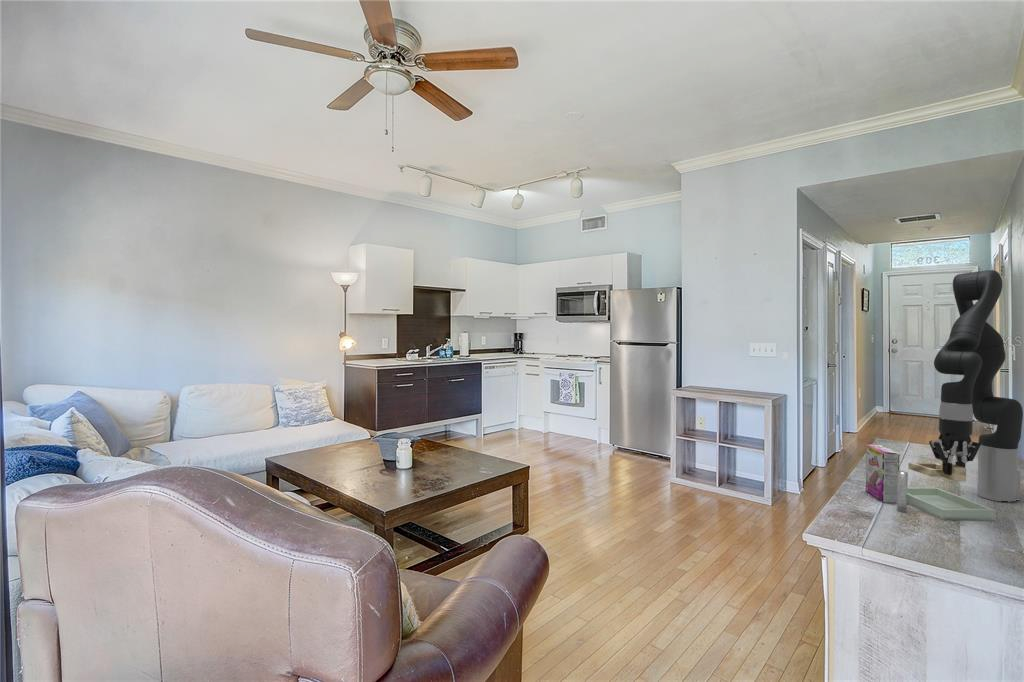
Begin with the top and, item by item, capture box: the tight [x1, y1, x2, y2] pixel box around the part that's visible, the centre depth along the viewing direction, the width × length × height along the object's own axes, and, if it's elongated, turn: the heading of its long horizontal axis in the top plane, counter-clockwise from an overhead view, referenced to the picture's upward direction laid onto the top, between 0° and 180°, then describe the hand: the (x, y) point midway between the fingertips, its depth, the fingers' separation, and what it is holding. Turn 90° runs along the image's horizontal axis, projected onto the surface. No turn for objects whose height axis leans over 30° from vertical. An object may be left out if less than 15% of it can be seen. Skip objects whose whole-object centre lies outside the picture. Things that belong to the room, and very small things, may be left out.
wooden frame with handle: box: [908, 462, 967, 483], centre depth 153 cm, size 14×9×4 cm, turn 179°
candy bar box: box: [865, 444, 900, 504], centre depth 162 cm, size 11×5×16 cm, turn 168°
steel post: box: [896, 470, 909, 513], centre depth 150 cm, size 2×2×12 cm
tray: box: [907, 487, 996, 521], centre depth 153 cm, size 15×20×3 cm
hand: (953, 474), depth 148 cm, fingers closed on wooden frame with handle, 3 cm apart
